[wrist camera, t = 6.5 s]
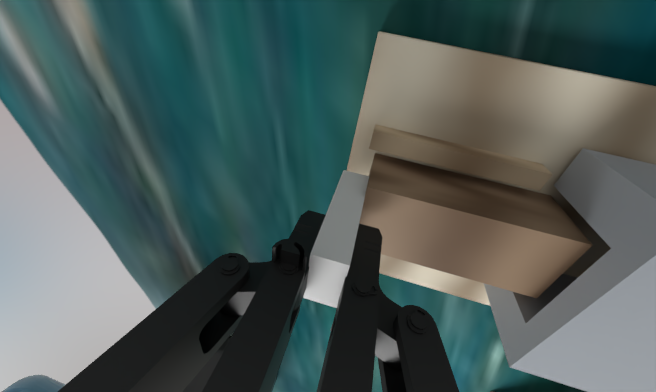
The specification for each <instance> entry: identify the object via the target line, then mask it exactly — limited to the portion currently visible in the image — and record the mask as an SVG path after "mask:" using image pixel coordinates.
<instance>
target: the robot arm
mask: <svg viewBox="0 0 656 392" xmlns="http://www.w3.org/2000/svg"><path fill="white" fill-rule="evenodd" d="M368 180H369V176H366V175H362V174H358V173H354V172H350V171H346V170H344V171H343V173H342V176H341V178H340V181H339V183H338V186H337V188H336V191H335V193H334V196H333V198H332V201H331V203H330V206H329V208H328V211H327V213H326V215H324V214H320V213H316V212H313V211H309V210H308V211H307V212H305V213H304V214H303V215H301V217H300V218H299V220H298V222H297V224H296V226H295V228H294V230H293V232H292V234H291V236H290V238H289V239H283V240H281V241H279V242H277V243H276V244H275V245H274V246H273V248H272V261H268V262H262V263H248V260H247V259H246V258H245V257H244V256H243V255H240V254H237V253H228V254H225V255H222V256H220V257H219V258H217V259H216V260H214V261H213V262H212V263H211V264H210V265H208V266H207V267H206V268H205V269H204V270H202V271H201V272H200V273H199V274H198V275H196V276H195V277H194V278H193V279H192V280H190V281H189V282H188V283H187V284H186V285H184V286H183V287H182V288H181V289H180V290H178V291H177V292H176V293H175V294H174V295H173V296H171V297H170V298H169V299H168V300H167V301H165V302H164V303H163V304H162V305H161V306H159V307H158V308H157V309H156V310H155V311H153V312H152V313H151V314H150V315H149V316H147V317H146V318H145V319H144V320H143V321H141V322H140V323H139V324H138V325H137V326H136V327H134V328H133V329H132V330H131V331H129V332H128V333H127V334H126V335H125V336H123V337H122V338H121V339H120V340H119V341H118V342H116V343H115V344H114V345H113V346H112V347H110V348H109V349H108V350H107V351H106V352H104V353H103V354H102V355H101V356H100V357H99V358H97V359H96V360H95V361H94V362H92V363H91V364H90V365H89V366H88V367H87V368H85V369H84V370H83V371H82V372H80V373H79V374H78V375H77V376H76V377H74V378H73V379H72V380H71V381H70V382H69V383H67V384H66V385H65V384H63V383H60V382H58V381H56V380H54V379H52V378H49V377H47V376H44V375H33V376H29V377H26V378H23V379H21V380H19V381H17V382H15V383H14V384H12V385H11V386H9V387H8V388H7V389H5V390H4V391H2V392H272V390H273V387H274V384H275V381H276V379H277V372H278V370H279V367H280V364H281V361H282V358H283V356H284V353H285V350H286V347H287V344H288V342H289V339H290V336H291V333H292V330H293V327H294V325H295V322H296V319H297V316H298V313H299V310H300V304H301V301H302V298H305V299H309V300H312V301H315V302H318V303H322V304H325V305H328V306H331V307H335V308H337V310H336V314H335V317H334V321H333V324H332V327H331V333H330V338H329V342H328V346H327V351H326V355H325V359H324V363H323V368H322V372H321V376H320V380H319V385H318V389H317V392H372V381H373V370H374V358H375V355H376V356H377V357H378V362H379V369H380V376H381V383H382V390H383V392H459V390H458V387H457V384H456V381H455V378H454V375H453V372H452V370H451V367H450V364H449V361H448V358H447V355H446V352H445V349H444V346H443V343H442V340H441V337H440V334H439V332H438V329H437V326H436V323H435V321H434V320H433V318H432V316H431V315H430V314H429V313H428V312H427V311H425V310H424V309H422V308H421V307H418V306H414V305H407V306H404V307H403V308H402V307H401V306H399V305H398V304H396V303H394V302H393V301H391V300H390V299H389V298H387V297H386V296H385V295H384V293H383V292H382V290H381V289H380V286H379V269H380V258H381V248H382V247H381V246H382V235H381V232H380V230H379V229H378V228H374V227H371V226H367V225H363V224H360V223H359V222H360V217H361V213H362V208H363V203H364V199H365V193H366V189H367V184H368ZM303 295H304V297H303ZM235 329H236V330H235ZM234 330H235V331H234ZM233 331H234V333H233ZM232 333H233V335H232V337H231V338H229V336H230V335H231V334H232Z"/></svg>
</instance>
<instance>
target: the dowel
mask: <svg viewBox="0 0 656 392" xmlns="http://www.w3.org/2000/svg"><path fill="white" fill-rule="evenodd" d="M359 223H360V224H363V225H367V226H371V227H374V228H378V229H379V230H380V232H381V235H382V246H381V247H382V248H381V254H382V255H386V256H389V257H393V258H396V259H400V260H403V261H407V262H410V263H414V264H417V265H421V266H424V267H428V268H432V269H435V270H439V271H442V272H446V273H449V274H453V275H456V276H460V277H463V278H467V279H470V280H474V281H477V282H481V283H484V284H488V285H491V286H495V287H498V288H502V289H505V290H509V291H512V292H516V293H519V294H523V295H526V296H530V297H533V298H538V297H539V296H540V295H541V294H542V293H543V292H544V291H545V290H546V289H547V288H548V287H549V286H550V285H551V284H553V283H554V282H555V281H556V280H557V279H558V278H559V277H560V276H561V275H562V274H563V273H564V272H565V271H566V270H567V269H568V268H569V267H570V266H571V265H572V264H574V263H575V262H576V261H577V260H578V259H579V258H580V257H581V256H582V255H583V254H584V253H585V252H586V251H587V250H588V249H589V248H590V247H591V246H592V244H591V242H590V241H589V240H588V239H587V238H586V236H585V235H584V234H583V233H582V232H581V231H580V229H579V228H578V227H577V226H576V225H575V223H574V222H573V221H572V220H571V219H570V217H569V216H568V215H567V214H566V213H565V211H564V210H563V209H562V208H561V207H560V206H559V204H558V203H557V202H556V201H555V200H554V198H553V197H552V196H551V195H547V194H543V193H538V192H534V191H530V190H526V189H522V188H518V187H514V186H509V185H505V184H501V183H497V182H493V181H489V180H485V179H481V178H476V177H472V176H468V175H464V174H460V173H456V172H452V171H447V170H443V169H439V168H435V167H431V166H427V165H423V164H418V163H414V162H410V161H406V160H402V159H398V158H394V157H390V156H385V155H381V154H377V153H375V155H374V158H373V162H372V166H371V169H370V173H369V180H368V184H367V189H366V193H365V199H364V203H363V208H362V213H361V217H360V222H359Z"/></svg>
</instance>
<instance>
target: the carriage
mask: <svg viewBox="0 0 656 392" xmlns="http://www.w3.org/2000/svg"><path fill="white" fill-rule="evenodd" d="M554 187H555V188H556V189H557V190H558V191H559V192H560V193H561V194H562V195H563V196H564V197H565V199H566V200H567V201H568V202H569V203H570V204H571V205H572V206H573V207H574V208H575V209H576V211H577V212H578V213H579V214H580V215H581V216H582V217H583V218H584V219H585V220H586V222H587V223H588V224H589V225H590V226H591V227H592V228H593V229H594V230H595V231H596V232H597V234H598V235H599V236H600V237H601V238H602V239H603V240H604V241H605V242H606V243H607V244H608V246H609V247H610V248H611V249H610V250H609V251H608V252H606V253H605V254H604V255H603V256H602V257H601V258H600V259H599V260H597V261H596V262H595V263H594V264H593V265H592V266H591V267H589V268H588V269H587V270H586V271H585V272H584V273H583V274H582V275H580V276H579V277H574V276H570V275H567V274H562V275H561V276H560V277H559V278H558V279H557V280H556V281H555V282H554V283H553V284H551V285H550V286H549V287H548V288H547V289H546V290H545V291H544V292H543V293H542V294H541V295H540V296H539V297H538V298H533V297H530V296H526V295H523V294H519V293H516V292H512V291H509V290H505V289H502V288H498V287H495V286H491V285H488V284H484V286H485V289H486V292H487V296H488V299H489V302H490V305H491V309H492V312H493V315H494V318H495V322H496V325H497V328H498V331H499V335H500V338H501V341H502V344H503V348H504V351H505V354H506V358H507V361H508V364H509V367H511V368H514V369H517V370H520V371H523V372H526V373H530V374H533V375H536V376H539V377H542V378H545V379H549V380H552V381H555V382H558V383H561V384H564V385H568V386H571V387H574V388H577V389H580V390H583V391H587V392H656V165H655V164H650V163H646V162H642V161H637V160H633V159H628V158H624V157H620V156H615V155H611V154H606V153H602V152H598V151H593V150H589V149H584V148H583V149H582V150H581V151H580V153H579V154H578V155H577V156H576V158H575V159H574V160H573V162H572V163H571V164H570V165H569V167H568V168H567V169H566V170H565V172H564V173H563V174H562V175H561V177H560V178H559V179H558V181H557V182H556V183H555V184H554Z"/></svg>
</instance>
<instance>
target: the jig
mask: <svg viewBox="0 0 656 392" xmlns="http://www.w3.org/2000/svg"><path fill="white" fill-rule="evenodd" d="M583 148H584V149H589V150H593V151H598V152H602V153H606V154H611V155H615V156H620V157H624V158H628V159H633V160H637V161H642V162H646V163H650V164H655V165H656V86H653V85H647V84H642V83H637V82H632V81H627V80H622V79H617V78H612V77H607V76H602V75H597V74H592V73H587V72H582V71H577V70H572V69H567V68H562V67H557V66H552V65H547V64H542V63H537V62H532V61H527V60H522V59H517V58H512V57H507V56H502V55H497V54H492V53H487V52H482V51H477V50H472V49H467V48H461V47H456V46H451V45H446V44H441V43H436V42H431V41H426V40H421V39H416V38H411V37H406V36H401V35H396V34H391V33H386V32H381V31H380V32H378V35H377V40H376V44H375V48H374V53H373V57H372V61H371V66H370V70H369V75H368V79H367V83H366V88H365V92H364V97H363V101H362V105H361V110H360V114H359V118H358V123H357V127H356V132H355V136H354V140H353V145H352V149H351V153H350V158H349V162H348V167H347V171H350V172H354V173H358V174H362V175H366V176H369V173H370V169H371V166H372V162H373V158H374V155H375V153H377V154H381V155H385V156H390V157H394V158H398V159H402V160H406V161H410V162H414V163H418V164H423V165H427V166H431V167H435V168H439V169H443V170H447V171H452V172H456V173H460V174H464V175H468V176H472V177H476V178H481V179H485V180H489V181H493V182H497V183H501V184H505V185H509V186H514V187H518V188H522V189H526V190H530V191H534V192H538V193H543V194H547V195H551V196H552V197H553V198H554V200H555V201H556V202H557V203H558V204H559V206H560V207H561V208H562V209H563V210H564V211H565V213H566V214H567V215H568V216H569V217H570V219H571V220H572V221H573V222H574V223H575V225H576V226H577V227H578V228H579V229H580V231H581V232H582V233H583V234H584V235H585V236H586V238H587V239H588V240H589V241H590V242H591V244H592V246H591V247H590V248H589V249H588V250H587V251H586V252H585V253H584V254H583V255H582V256H581V257H580V258H579V259H578V260H577V261H576V262H575V263H574V264H572V265H571V266H570V267H569V268H568V269H567V270H566V271H565V272H564V273H563V274H567V275H570V276H574V277H579V276H580V275H582V274H583V273H584V272H585V271H586V270H587V269H588V268H589V267H591V266H592V265H593V264H594V263H595V262H596V261H597V260H599V259H600V258H601V257H602V256H603V255H604V254H605V253H606V252H608V251H609V250H610V249H611V248H610V247H609V246H608V244H607V243H606V242H605V241H604V240H603V239H602V238H601V237H600V236H599V235H598V234H597V232H596V231H595V230H594V229H593V228H592V227H591V226H590V225H589V224H588V223H587V222H586V220H585V219H584V218H583V217H582V216H581V215H580V214H579V213H578V212H577V211H576V209H575V208H574V207H573V206H572V205H571V204H570V203H569V202H568V201H567V200H566V199H565V197H564V196H563V195H562V194H561V193H560V192H559V191H558V190H557V189H556V188H555V187H554V184H555V183H556V182H557V181H558V179H559V178H560V177H561V175H562V174H563V173H564V172H565V170H566V169H567V168H568V167H569V165H570V164H571V163H572V162H573V160H574V159H575V158H576V156H577V155H578V154H579V153H580V151H581V150H582V149H583ZM379 273H381V274H384V275H388V276H391V277H394V278H398V279H401V280H405V281H408V282H411V283H415V284H418V285H421V286H425V287H428V288H432V289H435V290H438V291H442V292H445V293H449V294H452V295H455V296H459V297H462V298H465V299H469V300H472V301H476V302H479V303H482V304H486V305H489V306H491V305H490V302H489V299H488V296H487V292H486V289H485V286H484V283H481V282H477V281H474V280H470V279H467V278H463V277H460V276H456V275H453V274H449V273H446V272H442V271H439V270H435V269H432V268H428V267H424V266H421V265H417V264H414V263H410V262H407V261H403V260H400V259H396V258H393V257H389V256H386V255H382V254H381V258H380V269H379Z"/></svg>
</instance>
